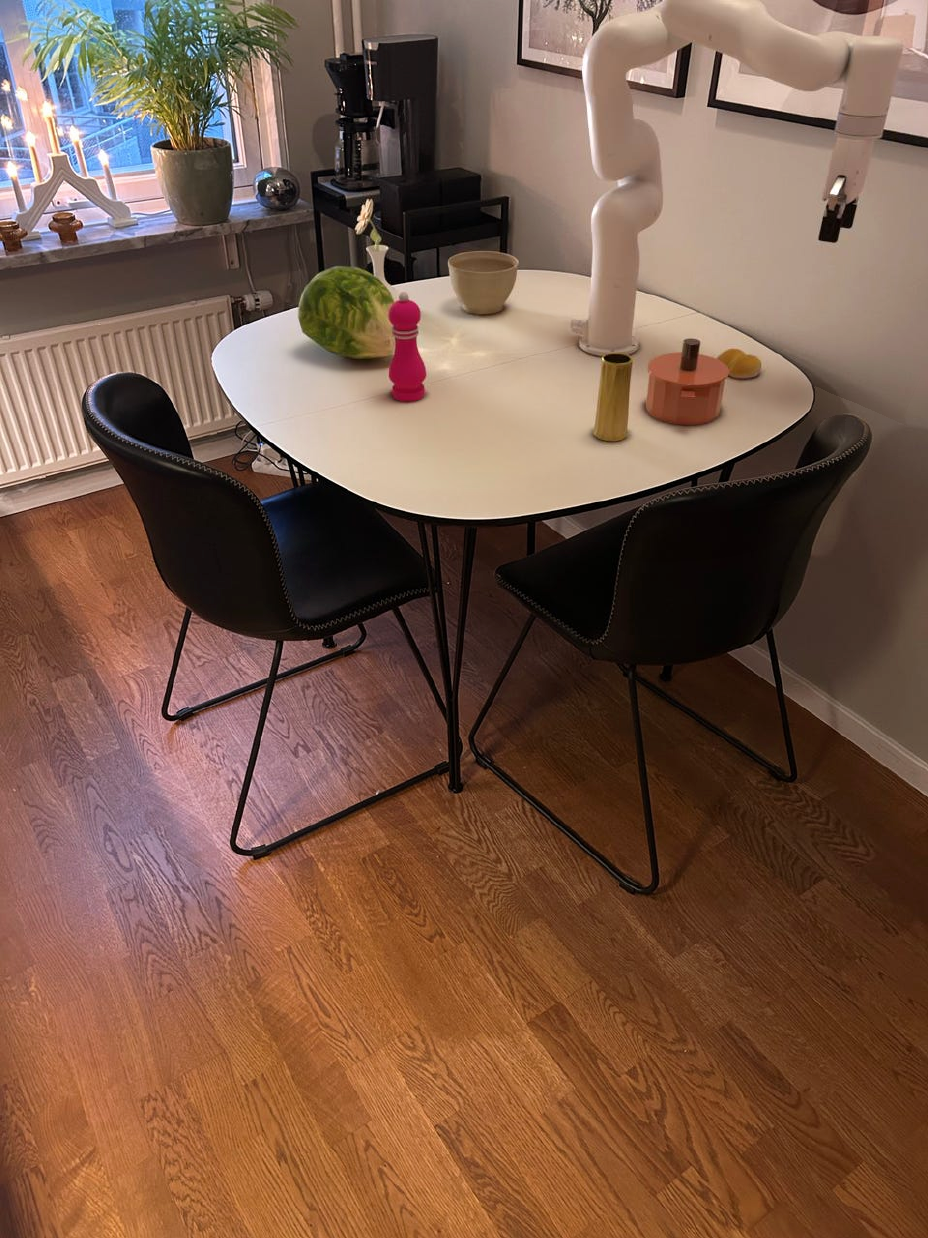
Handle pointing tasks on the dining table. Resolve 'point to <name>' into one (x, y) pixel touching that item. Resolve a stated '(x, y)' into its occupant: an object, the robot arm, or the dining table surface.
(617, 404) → the vase
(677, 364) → the crock lid
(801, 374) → the dining table surface
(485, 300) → the planter bowl
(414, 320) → the pepper mill
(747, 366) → the bread roll
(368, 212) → the flower in vase
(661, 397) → the crock
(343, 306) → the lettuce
